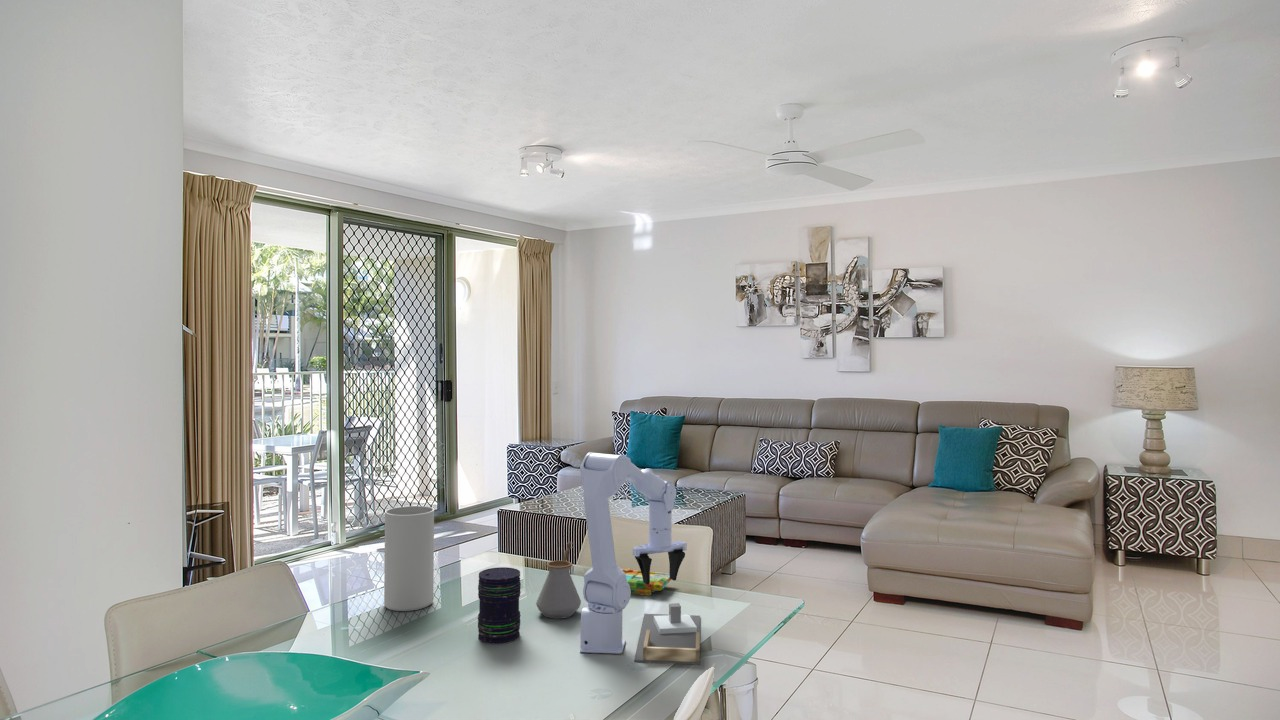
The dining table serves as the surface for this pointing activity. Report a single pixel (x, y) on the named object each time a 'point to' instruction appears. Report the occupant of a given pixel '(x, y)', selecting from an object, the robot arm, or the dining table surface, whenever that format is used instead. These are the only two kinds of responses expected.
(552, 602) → the grey faceted twig vase
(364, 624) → the dining table surface
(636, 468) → the robot arm
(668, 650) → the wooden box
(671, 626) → the cover plate
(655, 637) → the rubber mat
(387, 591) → the cylinder vase
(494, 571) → the storage jar
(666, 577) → the puzzle game
